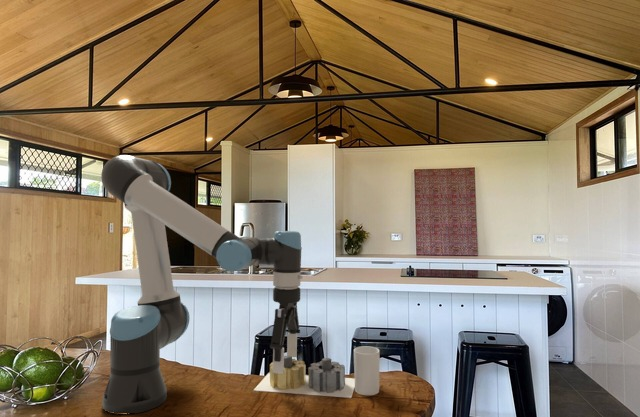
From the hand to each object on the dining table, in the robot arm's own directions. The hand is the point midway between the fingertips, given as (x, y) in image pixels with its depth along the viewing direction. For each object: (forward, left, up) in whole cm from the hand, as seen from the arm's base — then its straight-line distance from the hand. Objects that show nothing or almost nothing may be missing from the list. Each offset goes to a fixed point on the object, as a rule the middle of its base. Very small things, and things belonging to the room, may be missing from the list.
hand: (285, 364), depth 119 cm
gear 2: (+12, 0, -5) cm, 13 cm away
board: (+6, 0, -7) cm, 9 cm away
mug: (+23, +1, -7) cm, 24 cm away
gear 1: (+1, 0, -5) cm, 5 cm away
